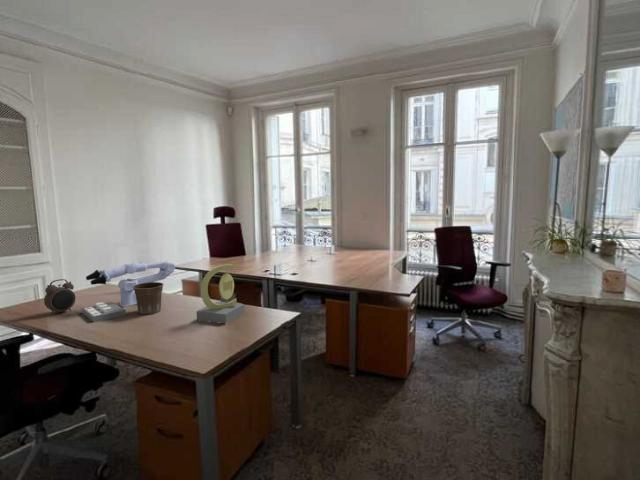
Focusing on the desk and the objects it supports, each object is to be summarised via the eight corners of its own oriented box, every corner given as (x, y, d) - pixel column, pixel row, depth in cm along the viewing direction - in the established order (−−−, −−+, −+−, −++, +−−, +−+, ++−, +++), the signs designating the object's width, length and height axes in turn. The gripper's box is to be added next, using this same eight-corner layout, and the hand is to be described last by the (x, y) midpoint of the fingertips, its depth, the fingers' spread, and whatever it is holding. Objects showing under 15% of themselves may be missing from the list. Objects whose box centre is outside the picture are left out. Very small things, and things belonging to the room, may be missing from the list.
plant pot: (170, 307, 213) (168, 282, 211) (155, 316, 197) (153, 288, 195) (145, 307, 214) (143, 281, 212) (128, 315, 198) (126, 288, 196)
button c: (110, 311, 199) (109, 306, 199) (112, 313, 197) (111, 307, 196) (102, 313, 197) (102, 308, 196) (104, 315, 194) (104, 309, 194)
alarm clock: (50, 317, 197) (47, 283, 195) (44, 315, 200) (41, 281, 198) (78, 310, 209) (75, 277, 207) (72, 308, 213) (69, 276, 211)
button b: (106, 309, 204) (105, 304, 204) (108, 310, 202) (107, 305, 201) (99, 311, 201) (98, 305, 201) (100, 312, 199) (100, 307, 198)
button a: (102, 307, 209) (102, 302, 208) (104, 308, 206) (104, 303, 206) (95, 308, 206) (95, 303, 206) (97, 309, 204) (96, 304, 203)
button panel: (112, 306, 216) (112, 301, 215) (126, 314, 199) (125, 309, 199) (82, 312, 204) (81, 307, 204) (94, 322, 188) (93, 316, 187)
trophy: (226, 324, 183) (223, 269, 179) (196, 320, 189) (194, 267, 185) (244, 313, 200) (242, 262, 197) (217, 310, 206) (215, 261, 203)
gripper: (107, 263, 216) (82, 270, 206) (117, 271, 207) (91, 278, 197) (109, 273, 218) (85, 281, 208) (119, 281, 210) (94, 289, 200)
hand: (88, 280), depth 203 cm, fingers open, 7 cm apart
